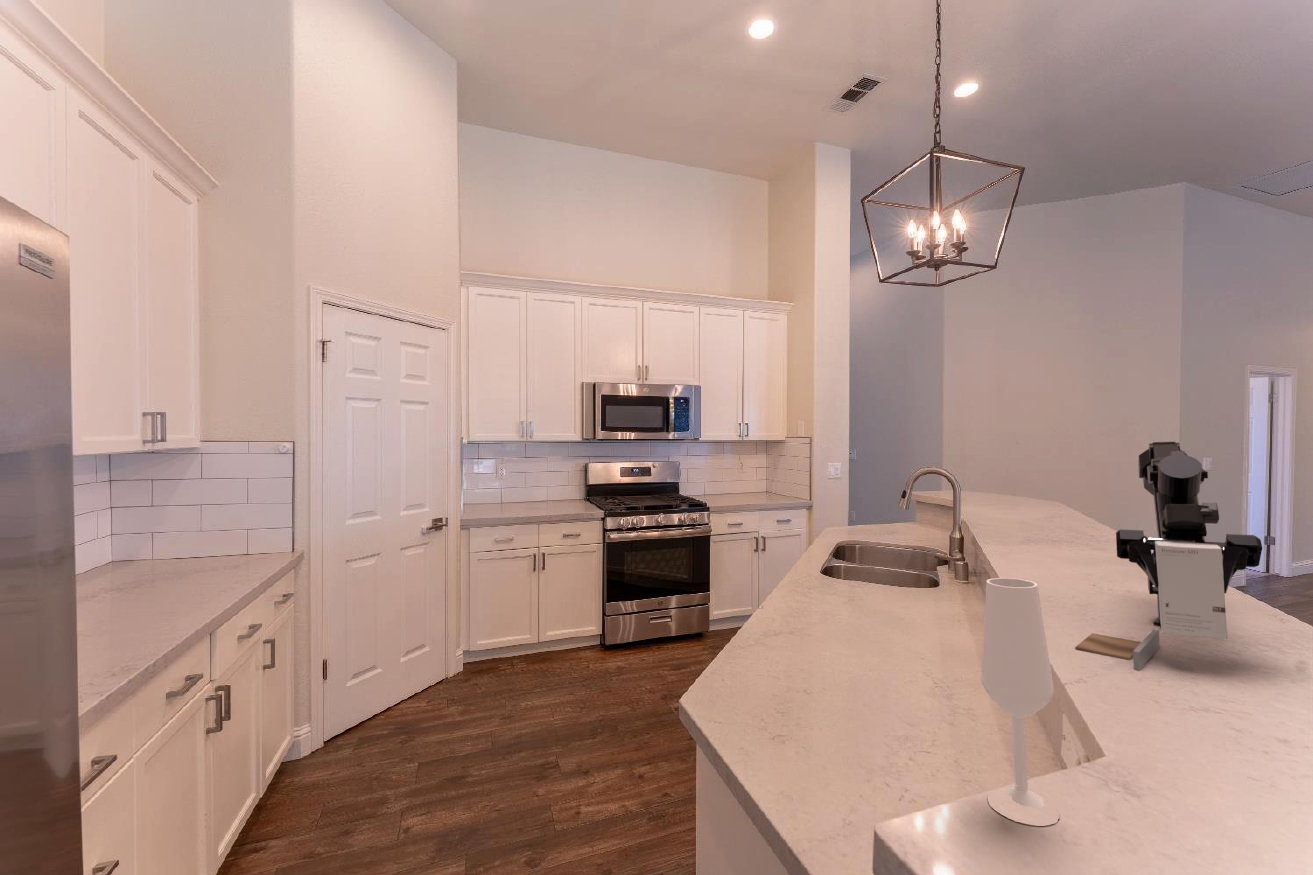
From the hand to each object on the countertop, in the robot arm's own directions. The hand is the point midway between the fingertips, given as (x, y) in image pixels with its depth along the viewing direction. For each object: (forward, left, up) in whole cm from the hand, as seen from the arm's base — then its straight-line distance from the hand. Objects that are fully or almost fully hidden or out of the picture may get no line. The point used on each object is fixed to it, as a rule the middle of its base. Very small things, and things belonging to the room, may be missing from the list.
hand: (1189, 588), depth 98 cm
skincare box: (0, 0, -7) cm, 8 cm away
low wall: (-1, -6, -13) cm, 15 cm away
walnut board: (-3, -12, -13) cm, 18 cm away
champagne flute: (+61, -6, -13) cm, 63 cm away
